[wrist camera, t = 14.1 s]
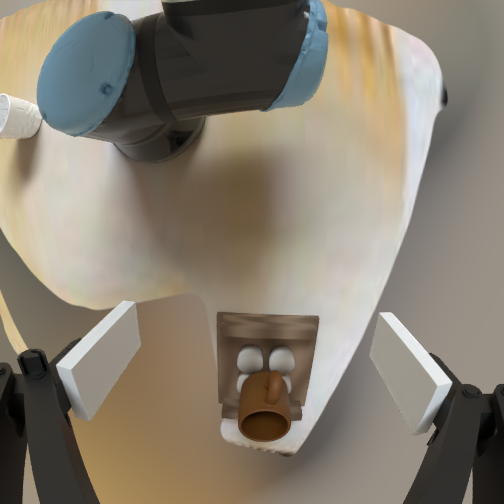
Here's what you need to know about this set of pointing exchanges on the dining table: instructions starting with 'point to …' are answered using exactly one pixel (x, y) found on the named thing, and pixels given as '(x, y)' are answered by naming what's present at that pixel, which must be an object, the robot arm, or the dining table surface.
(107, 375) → the robot arm
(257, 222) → the dining table surface
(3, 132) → the white cup
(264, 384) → the mug
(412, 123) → the dining table surface
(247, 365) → the peg stand
